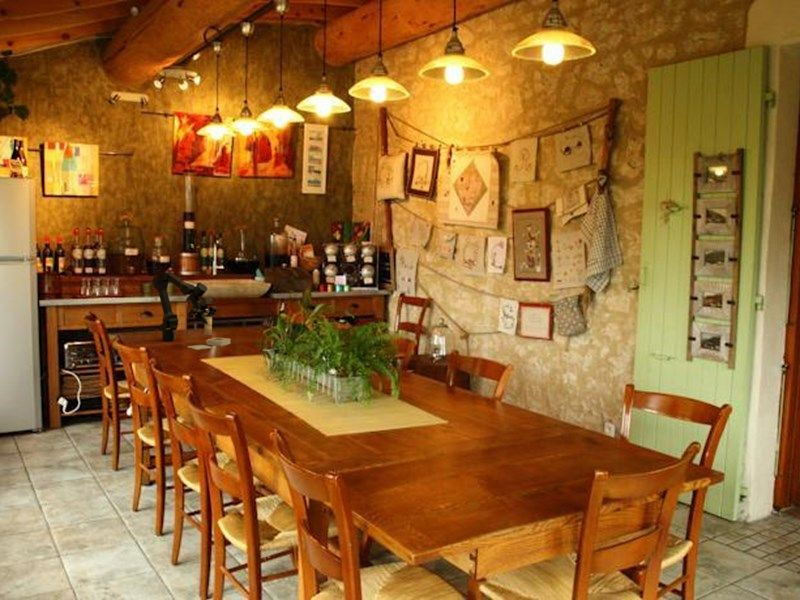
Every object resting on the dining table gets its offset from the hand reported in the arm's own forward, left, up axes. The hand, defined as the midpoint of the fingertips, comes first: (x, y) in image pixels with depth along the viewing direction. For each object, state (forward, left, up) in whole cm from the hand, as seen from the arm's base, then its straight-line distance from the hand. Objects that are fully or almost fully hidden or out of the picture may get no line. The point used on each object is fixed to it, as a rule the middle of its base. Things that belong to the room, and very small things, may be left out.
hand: (209, 323), depth 446 cm
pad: (-5, -4, -13) cm, 15 cm away
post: (-1, +1, -7) cm, 7 cm away
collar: (+3, +10, -13) cm, 17 cm away
